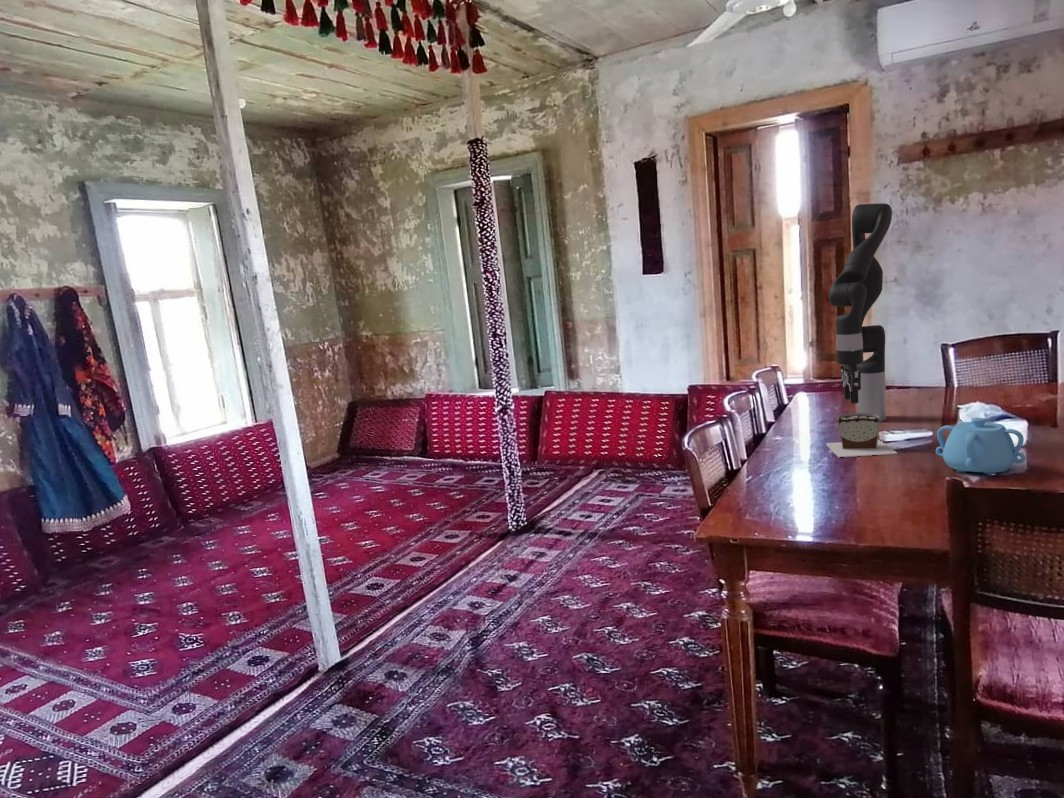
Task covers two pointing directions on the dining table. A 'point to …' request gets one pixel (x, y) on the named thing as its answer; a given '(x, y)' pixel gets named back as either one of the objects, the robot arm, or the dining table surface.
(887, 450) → the mat
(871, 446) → the food container
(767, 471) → the dining table surface
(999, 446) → the decorative pot
